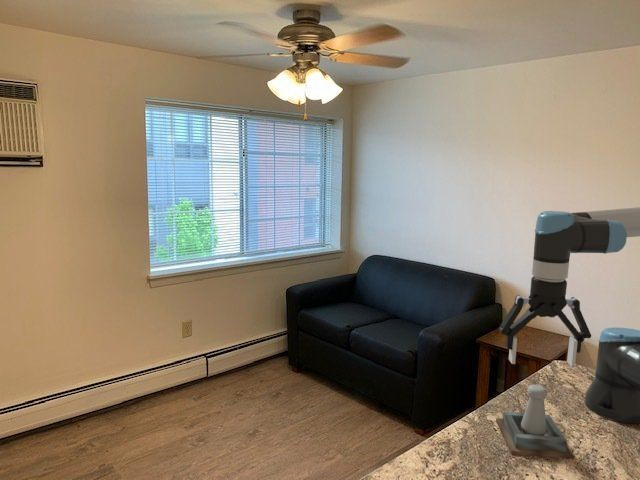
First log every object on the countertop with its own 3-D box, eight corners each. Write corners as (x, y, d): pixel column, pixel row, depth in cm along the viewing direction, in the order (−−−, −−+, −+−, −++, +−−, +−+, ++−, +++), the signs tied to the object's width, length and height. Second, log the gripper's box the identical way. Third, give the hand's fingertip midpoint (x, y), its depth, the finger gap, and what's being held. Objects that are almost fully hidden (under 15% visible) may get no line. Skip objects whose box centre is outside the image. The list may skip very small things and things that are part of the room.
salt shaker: (548, 444, 113) (553, 394, 110) (522, 440, 114) (528, 391, 111) (541, 430, 118) (547, 382, 116) (518, 427, 119) (522, 380, 117)
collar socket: (551, 425, 122) (552, 412, 122) (573, 459, 108) (575, 445, 108) (495, 420, 124) (497, 408, 123) (510, 453, 110) (512, 440, 109)
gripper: (598, 275, 111) (588, 359, 115) (489, 272, 114) (484, 353, 118) (614, 284, 104) (603, 373, 107) (497, 280, 106) (491, 367, 110)
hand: (541, 363), depth 112 cm, fingers open, 13 cm apart
